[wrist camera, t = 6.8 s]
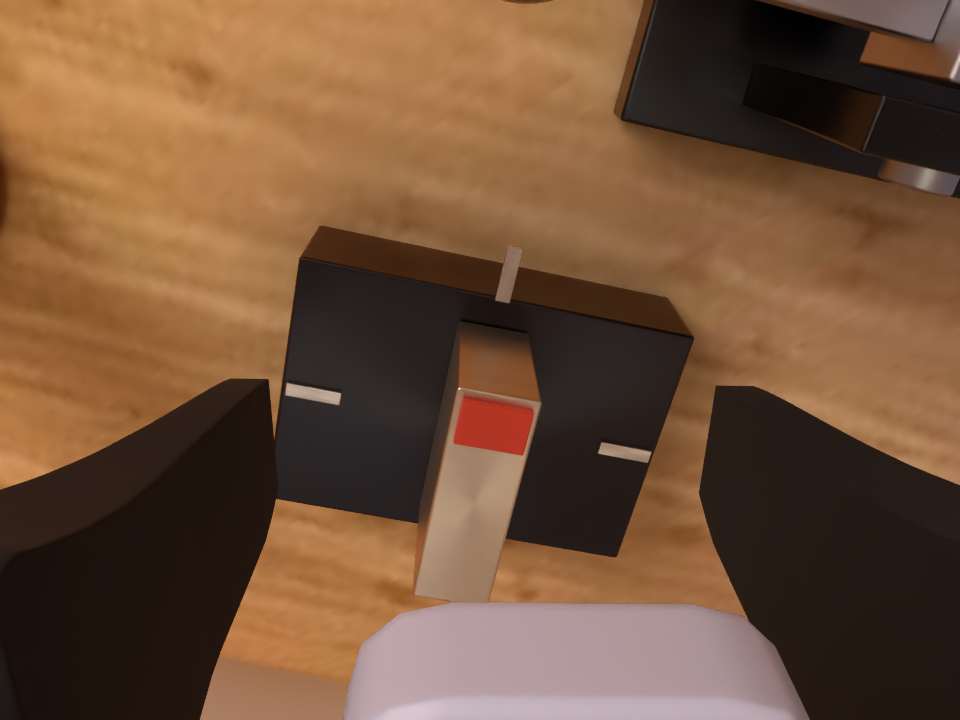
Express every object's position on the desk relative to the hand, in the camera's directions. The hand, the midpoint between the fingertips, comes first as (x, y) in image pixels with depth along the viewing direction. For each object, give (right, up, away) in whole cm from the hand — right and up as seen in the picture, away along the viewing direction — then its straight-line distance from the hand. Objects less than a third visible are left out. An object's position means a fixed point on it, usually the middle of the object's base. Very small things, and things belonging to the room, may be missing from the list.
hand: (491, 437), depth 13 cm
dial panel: (0, +1, +11) cm, 11 cm away
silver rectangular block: (0, 0, +8) cm, 8 cm away
